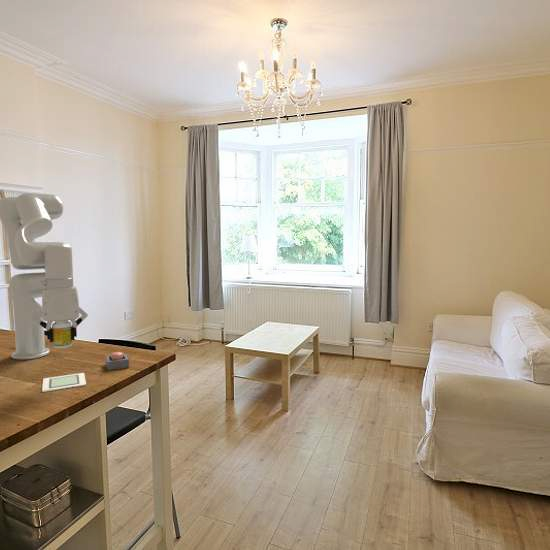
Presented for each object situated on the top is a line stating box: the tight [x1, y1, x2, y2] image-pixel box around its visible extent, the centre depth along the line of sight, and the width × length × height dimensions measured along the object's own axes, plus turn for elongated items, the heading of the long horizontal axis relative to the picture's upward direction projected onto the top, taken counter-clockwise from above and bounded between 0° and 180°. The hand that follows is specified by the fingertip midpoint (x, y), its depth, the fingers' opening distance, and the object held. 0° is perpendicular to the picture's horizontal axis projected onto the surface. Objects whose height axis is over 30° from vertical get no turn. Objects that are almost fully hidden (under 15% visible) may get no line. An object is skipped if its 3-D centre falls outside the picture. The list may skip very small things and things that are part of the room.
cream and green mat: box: [41, 372, 87, 393], centre depth 127 cm, size 11×12×1 cm
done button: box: [110, 351, 124, 361], centre depth 142 cm, size 4×4×2 cm
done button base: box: [105, 353, 130, 371], centre depth 143 cm, size 7×7×3 cm
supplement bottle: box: [51, 320, 73, 349], centre depth 125 cm, size 5×5×10 cm
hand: (62, 339), depth 125 cm, fingers closed on supplement bottle, 5 cm apart
